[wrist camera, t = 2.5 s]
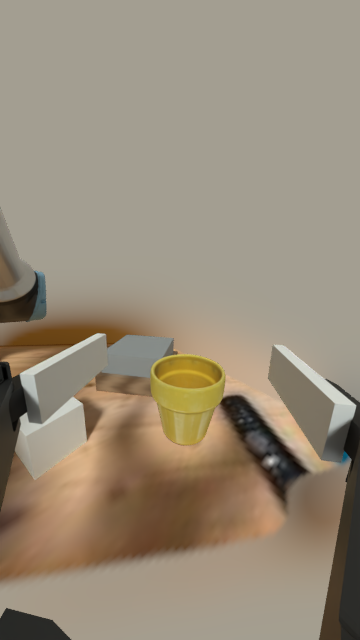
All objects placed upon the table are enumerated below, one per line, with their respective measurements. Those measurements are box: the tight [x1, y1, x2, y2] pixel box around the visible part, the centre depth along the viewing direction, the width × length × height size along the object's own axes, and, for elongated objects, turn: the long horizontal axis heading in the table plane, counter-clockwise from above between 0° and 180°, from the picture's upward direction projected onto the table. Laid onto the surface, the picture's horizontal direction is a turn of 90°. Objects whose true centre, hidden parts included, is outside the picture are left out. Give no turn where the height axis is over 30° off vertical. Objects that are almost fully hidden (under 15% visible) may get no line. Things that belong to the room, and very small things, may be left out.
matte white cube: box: [15, 397, 87, 480], centre depth 23 cm, size 6×6×6 cm
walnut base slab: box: [95, 351, 177, 397], centre depth 42 cm, size 14×14×4 cm
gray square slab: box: [102, 335, 174, 378], centre depth 40 cm, size 12×12×4 cm
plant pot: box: [150, 354, 225, 445], centre depth 27 cm, size 10×10×10 cm
